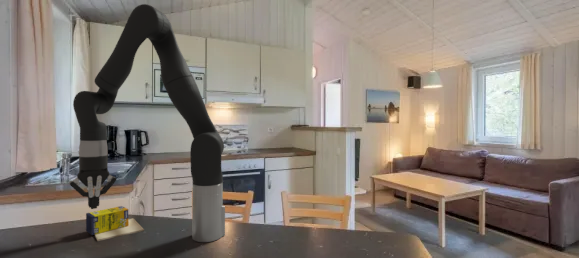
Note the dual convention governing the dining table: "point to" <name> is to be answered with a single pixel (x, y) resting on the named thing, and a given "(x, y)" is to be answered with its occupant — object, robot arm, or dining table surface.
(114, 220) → the supplement box
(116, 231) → the birch board
